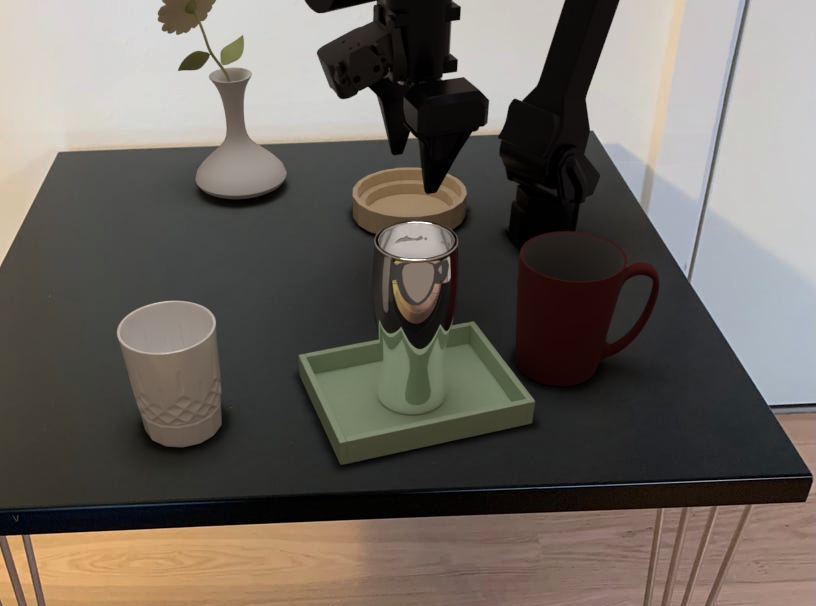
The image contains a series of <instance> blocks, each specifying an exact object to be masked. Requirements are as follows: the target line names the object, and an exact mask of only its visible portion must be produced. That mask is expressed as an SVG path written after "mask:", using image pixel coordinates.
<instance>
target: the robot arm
mask: <svg viewBox="0 0 816 606" xmlns="http://www.w3.org/2000/svg"><path fill="white" fill-rule="evenodd" d="M620 1H621V0H564V1H563V5H562V7H561V11H560V14H559V17H558V20H557V23H556V27H555V30H554V32H553V35H552V39H551V42H550V45H549V48H548V51H547V54H546V57H545V61H544V64H543V67H542V70H541V72H540V75H539V80H538V82H537V84H536V86H535V87H534V88H533V89H532V90H531V91H530V92H529V93H528V94H527V95H526V96H525V97H524V98H523V99H522V100H520V99H517V98H513V99H512V100H511V102H510V103H509V105H508V108H507V113H506V117H505V122H504V123H503V127H502V129H501V130H500V132H499V134H498V136H497V139H498V140H500V143H499V149H498V150H499V151H498V155H499V158H501V161H502V164H503V166H504V170H505V173H506V174H505V175H506V179H507V180H508V181H510V182H514V183H516V184H517V185H516V192H515V193H516V195H515V199H513V200H512V201H511V205H510V214H509V223H508V226H506V227H505V230H504V231H505V233H506V234H507V236H509V238H510V239H511V240H512V241H513V242H514V243H515V244H516V245H517V246H518V247H519V248H520V249H521V248H522V246H523V245H524V244H525V243H526V242H527V241H528V240H530V239H532V238H534V237H536V236H538V235H542V234H545V233H551V232H560V231H572V232H577V226H578V225H577V224H578V219H579V212H580V207H581V205H582V204H584V203H586V199H587V198H588V197H590V196H593V195H594V194H595V191H596V188H597V186H598V183H599V181H600V178H601V174H600V172H599V171H598V170H597V168H596V167H595V166H594V165H593V163H592V162H591V161H590V160H589V158H588V157H587V156H586V154H585V153H586V149H587V146H588V142H589V137H590V134H591V126H590V119H589V112H588V106H587V96H588V92H589V89H590V87H591V84H592V81H593V78H594V75H595V72H596V70H597V67H598V63H599V61H600V59H601V58H600V57H601V55H602V53H603V50H604V47H605V44H606V41H607V38H608V35H609V33H610V29H611V27H612V24H613V21H614V18H615V16H616V12H617V9H618V7H619V4H620ZM304 2H305V3H306V5H307V6H308V7H309V9H310V10H312V11H313V12H315V13H316V14H327V13H330V12H335V11H340V10H343V9H348V8H352V7H356V6H357V7H358V6H360V5H364V4H369V3H374V2H376V4H373V7H372V21H370V22H368V23H366V24H364V25H362V26H357V27H355V28H354V29H351V30H350V31H347V32H346V33H344V34H342V35H340V36H337V38H335V39H332V41H329V42H327V43H325V44H323V45H322V46H320V47H319V48H318V49H317V51H316V56H317V58H318V61H319V64H320V66H321V69H322V71H323V73H324V76H325V79H326V81H327V84H328V86H329V89H331V90H333V92H334V93H335V94H336V96H337V97H338V99H340V100H349V99H351V98H353V97H355V96H357V95H358V93H359V92H361V91H363V90H365V89H367V88H368V89H370V90H371V91H372V92H373V93H374V95H376V98H377V101H378V105H379V109H380V113H381V117H382V121H383V125H384V129H385V134H386V137H387V142H388V145H389V149H390V150H389V151H390V153H391V155H392V156H400V155H403V154H404V152H405V148H406V146H407V143H408V140H409V137H410V134H412V135H413V136H414V137H415V139H417V140H418V148H419V149H418V151H419V158H420V168H421V170H422V179H423V185H424V191H425V193H426V194H432V193H436V192H437V191H438V189H439V187H440V186H441V184H442V182H443V180H444V178H445V177H446V175H447V174H449V171H450V170H451V167H452V166H453V164H454V162H455V160H456V159H457V157H458V155H459V154H460V152H461V151H462V149H463V147H464V146H465V144H466V143H467V141H468V139H470V136H471V135H472V133H474V132H478V131H479V129H480V128H483V127H485V126H486V125H487V124H488V122H489V121H488V120H489V107H490V100H489V99H488V97H487V96H486V95H485V94H484V93H483V92H482V91H481V90H480V89H479V88H478V87H477V86H476V85H474V83H472V82H471V81H469V79H467V78H466V77H465V76H462V77H454V78H447V79H443V77H444V74H451V73H452V74H453V73H458V66H459V65H458V64H459V59H458V58H456V56H454V55H453V54H452V53H451V40H452V39H451V38H452V22H457V21H461V12H462V6H461V5H459V4H458V3H457V2H454V1H453V0H304Z"/></svg>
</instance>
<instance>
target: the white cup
mask: <svg viewBox="0 0 816 606" xmlns="http://www.w3.org/2000/svg"><path fill="white" fill-rule="evenodd" d="M116 337H117V340H118V344H119V347H120V352H121V354H122V358H123V361H124V365H125V369H126V373H127V376H128V380H129V383H130V387H131V389H132V392H133V395H134V401H135V402H136V405H137V408H138V411H139V413H140V416H141V420H142V424H143V427H144V430H145V432H146V433H147V435H148V436H149V438H150V439H151V441H153V442H155V443H157V444H159V445H162V446H164V447H168V448H169V447H171V448H187V447H191V446H197V445H200V444H203V443H204V442H205V441H207V440H209V439H211V438H212V437H214V436H215V435H216V434H217V432H218V431H219V429H220V428H221V427H222V425H223V408H222V378H221V377H222V376H221V365H220V354H219V343H218V342H219V341H218V331H217V319H216V316H215V315H214V313H213V312H212V311H211V310H210V309H209V308H207V307H206V306H203V305H202V304H199V303H195V302H192V301H186V300H164V301H159V302H153V303H150V304H147V305H144V306H141V307H139V308H136V309H135V310H133V311H131V312H130V313H128V314H127V315H125V317H123V319H122V320H121V321H120V322H119V324H118V325H117V329H116Z"/></svg>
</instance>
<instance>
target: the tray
mask: <svg viewBox="0 0 816 606" xmlns="http://www.w3.org/2000/svg"><path fill="white" fill-rule="evenodd" d="M298 368H299V377H300V379H301V381H302V384H303V386H304V388H305V390H306V393H307V395H308V397H309V399H310V401H311V404H312V406H313V408H314V410H315V412H316V414H317V416H318V419H319V421H320V423H321V425H322V427H323V430H324V432H325V434H326V436H327V439H328V441H329V443H330V445H331V447H332V450H333V452H334V454H335V457H336V458H337V460H338V463H339V465H340V466H343V465H348V464H353V463H356V462H357V463H358V462H361V461H367V460H370V459H371V460H372V459H375V458H380V457H385V456H389V455H393V454H399V453H403V452H409V451H412V450H417V449H421V448H426V447H430V446H435V445H439V444H444V443H449V442H452V441H457V440H463V439H467V438H472V437H477V436H480V435H486V434H490V433H494V432H495V433H496V432H499V431H504V430H508V429H512V428H518V427H522V426H528V425H531V424H533V419H534V415H535V414H534V412H535V406H536V400H535V399H534V397H533V396H532V395H531V394H530V392H529V391H528V390H527V388H526V387H525V386H524V385H523V384H522V382H521V381H520V379H519V378H518V376H517V375H516V374H515V373H514V371H513V370H512V369H511V368H510V366H509V365H508V364H507V362H506V361H505V360H504V359H503V357H502V355H500V353H499V352H498V351H497V349H496V348H495V346H494V345H493V343H491V341H490V340H489V339H488V337H487V336H486V335H485V333H484V332H483V331H482V330H481V329H480V327H479V326H478V324H477V323H476V322H475V321H474V320H473V321H468V322H462V323H457V324H452V326H451V330H450V334H449V337H448V341H447V344H446V349H445V353H444V359H443V375H444V381H445V387H446V397H445V400H444V401H443V403H442V404H441V405H440V406H439V407H438V408H436V409H434V410H433V411H430V412H427V413H424V414H417V415H407V414H401V413H397V412H394V411H392V410H390V409H388V408H386V407H385V406H384V405H383V404H382V403H381V402H380V401H379V398H378V395H377V389H378V384H379V379H380V375H381V369H382V353H381V348H380V342H379V339H374V340H369V341H364V342H358V343H352V344H349V345H348V344H347V345H342V346H337V347H333V348H327V349H322V350H316V351H313V352H307V353H302V354H298Z"/></svg>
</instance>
